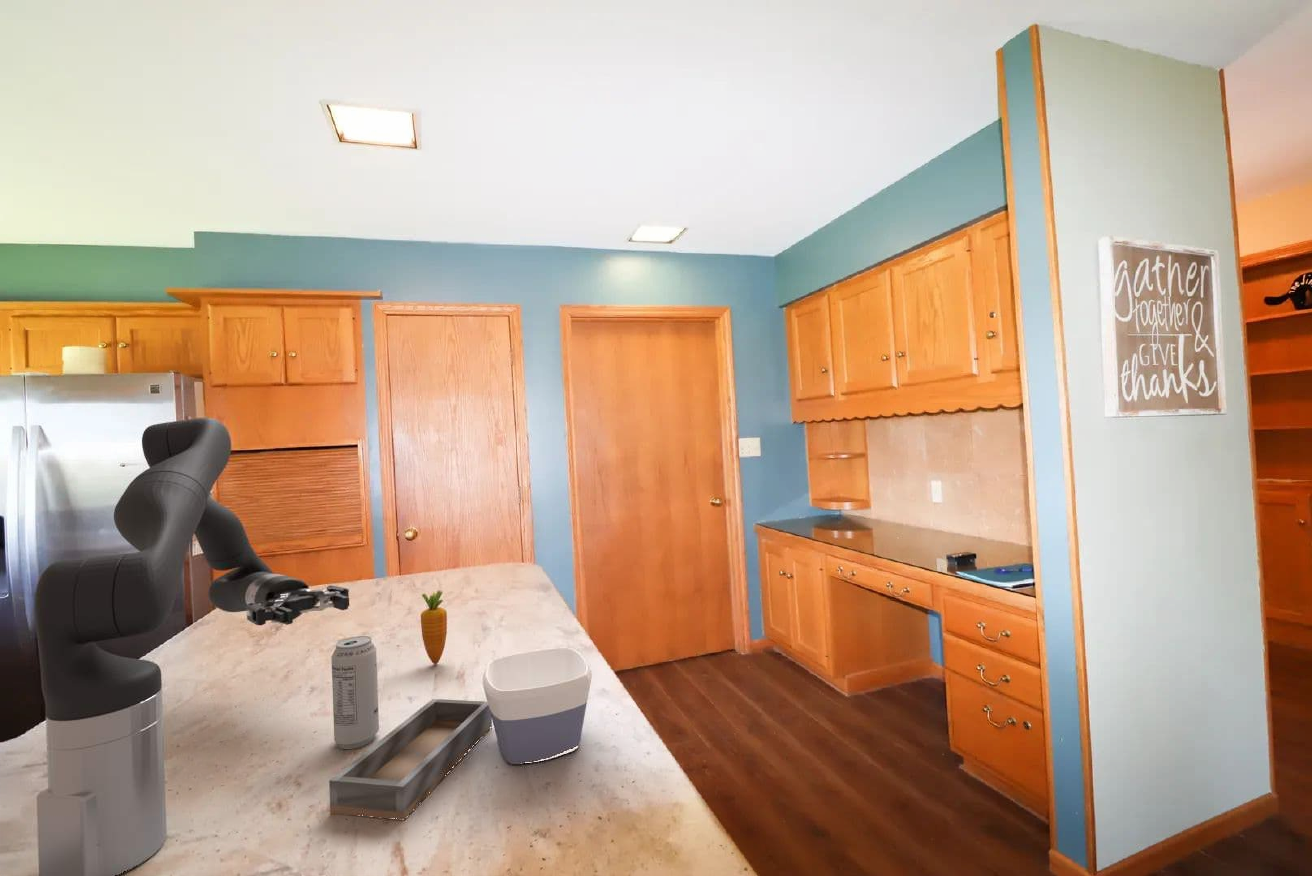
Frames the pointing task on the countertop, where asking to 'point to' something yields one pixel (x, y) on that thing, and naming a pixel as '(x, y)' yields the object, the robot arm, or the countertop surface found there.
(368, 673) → the energy drink can
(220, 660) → the countertop surface
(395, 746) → the rectangular tray
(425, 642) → the carrot
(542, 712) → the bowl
